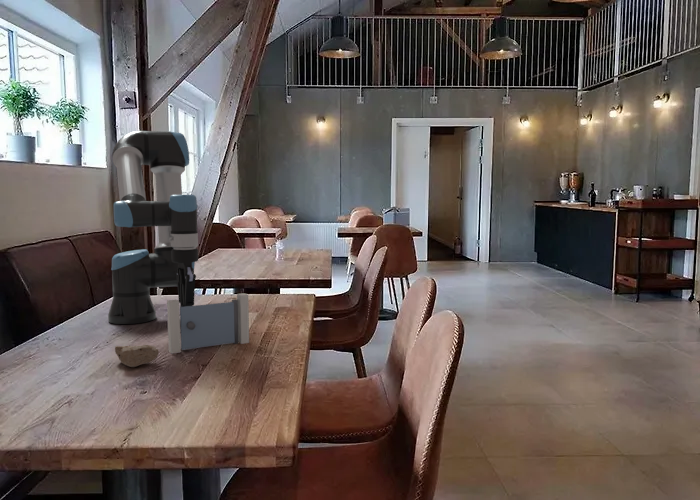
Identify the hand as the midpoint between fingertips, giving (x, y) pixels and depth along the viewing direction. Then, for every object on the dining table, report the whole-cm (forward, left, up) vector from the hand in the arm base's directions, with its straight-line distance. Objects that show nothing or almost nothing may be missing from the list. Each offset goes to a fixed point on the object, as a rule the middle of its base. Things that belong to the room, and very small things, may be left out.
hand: (187, 328), depth 168 cm
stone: (+21, -16, -4) cm, 26 cm away
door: (+11, +11, -4) cm, 16 cm away
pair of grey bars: (+11, +1, -4) cm, 11 cm away
